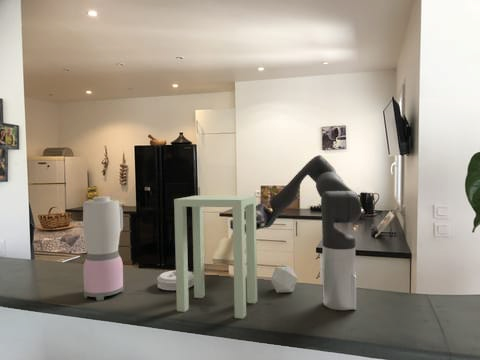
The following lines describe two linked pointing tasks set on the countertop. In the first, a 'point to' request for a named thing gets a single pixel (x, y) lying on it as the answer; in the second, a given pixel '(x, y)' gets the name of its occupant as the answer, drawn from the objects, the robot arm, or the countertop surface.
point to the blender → (102, 247)
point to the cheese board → (225, 251)
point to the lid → (172, 280)
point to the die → (284, 279)
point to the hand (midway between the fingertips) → (238, 227)
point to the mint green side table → (198, 248)
